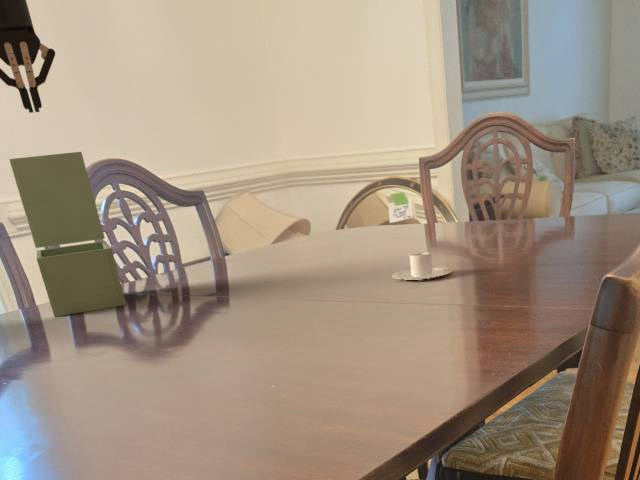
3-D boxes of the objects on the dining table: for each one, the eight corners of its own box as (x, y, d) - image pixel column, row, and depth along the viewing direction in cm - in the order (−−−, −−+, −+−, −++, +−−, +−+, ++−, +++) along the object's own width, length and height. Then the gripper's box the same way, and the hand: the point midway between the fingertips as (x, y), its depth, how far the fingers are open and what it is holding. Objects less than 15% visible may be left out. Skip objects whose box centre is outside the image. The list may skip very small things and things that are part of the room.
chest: (126, 305, 155) (111, 248, 150) (54, 316, 151) (36, 258, 146) (119, 293, 168) (105, 240, 163) (52, 304, 164) (36, 250, 159)
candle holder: (412, 270, 159) (410, 248, 157) (463, 270, 154) (462, 248, 151) (380, 282, 151) (378, 259, 149) (433, 283, 145) (432, 259, 143)
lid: (81, 151, 157) (81, 152, 157) (8, 159, 152) (9, 159, 153) (104, 238, 162) (104, 238, 163) (35, 247, 158) (35, 248, 159)
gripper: (42, -1, 138) (71, 109, 146) (-39, 3, 134) (-4, 116, 142) (43, -8, 132) (73, 107, 140) (-42, -5, 128) (-6, 114, 136)
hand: (34, 112), depth 141 cm, fingers closed
